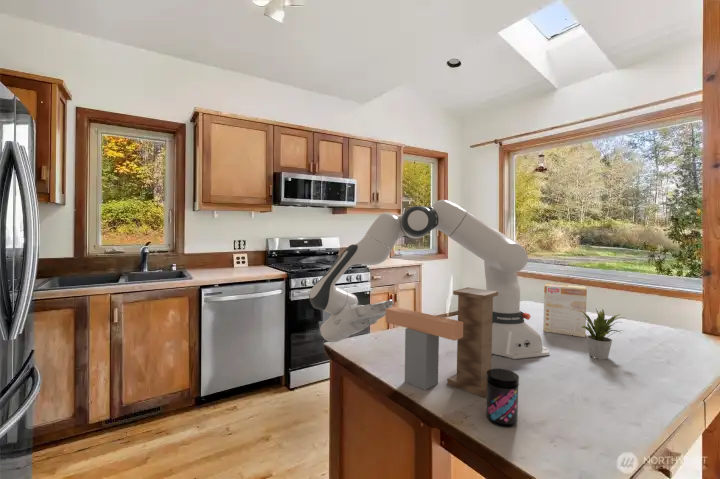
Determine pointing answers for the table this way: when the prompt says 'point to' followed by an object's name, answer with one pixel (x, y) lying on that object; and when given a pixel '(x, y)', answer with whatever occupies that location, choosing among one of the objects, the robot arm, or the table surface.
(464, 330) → the walnut tower
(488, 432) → the table surface
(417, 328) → the terracotta beam
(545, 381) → the table surface
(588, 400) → the table surface
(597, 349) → the house plant
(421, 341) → the slate pillar
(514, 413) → the supplement container
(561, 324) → the coffeecake box
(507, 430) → the table surface
